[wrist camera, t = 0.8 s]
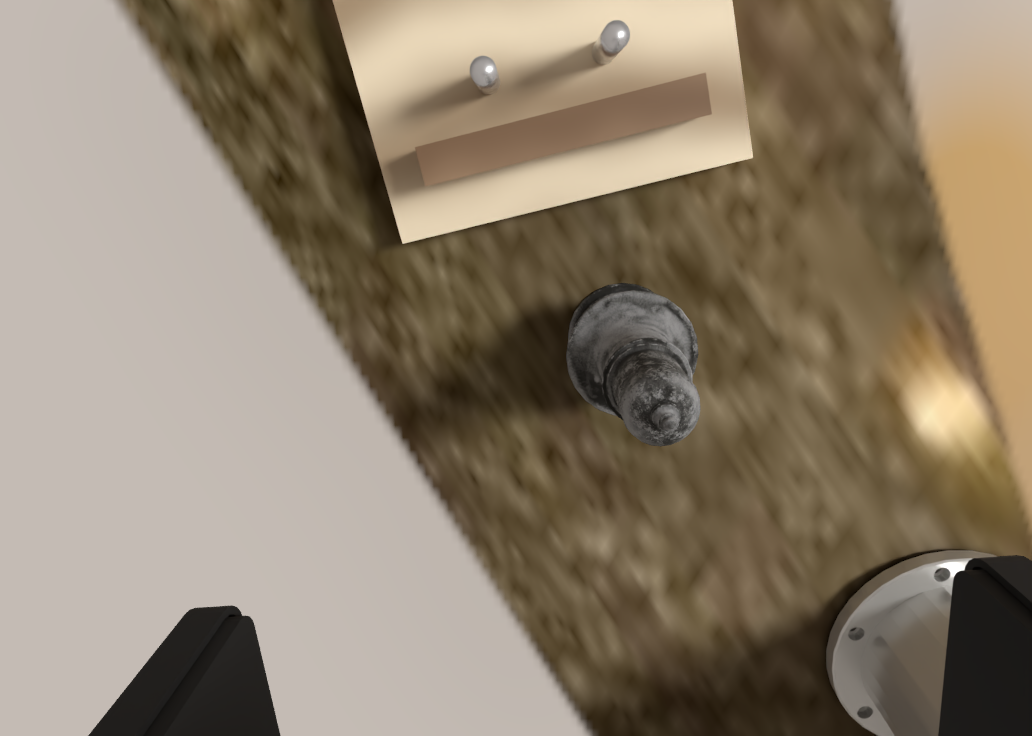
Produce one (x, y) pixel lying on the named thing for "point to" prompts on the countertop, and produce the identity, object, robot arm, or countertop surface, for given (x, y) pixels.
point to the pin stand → (540, 100)
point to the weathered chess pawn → (636, 361)
